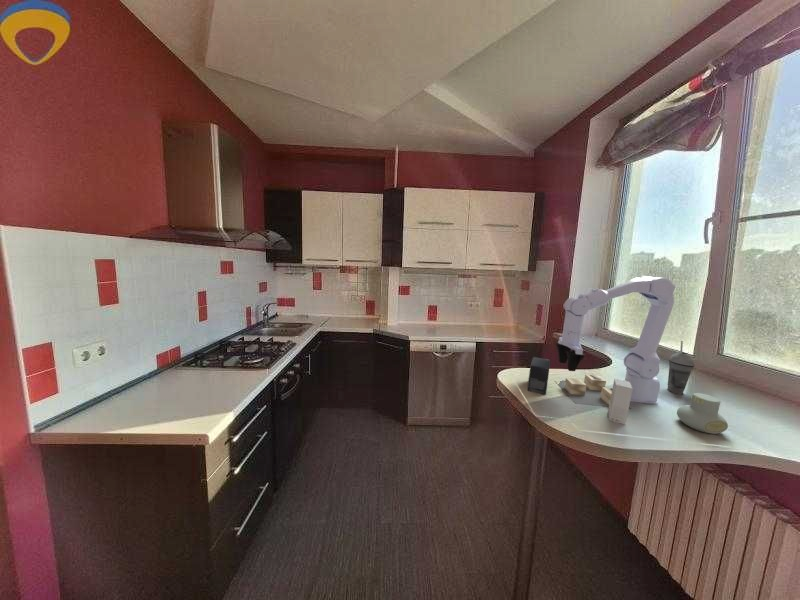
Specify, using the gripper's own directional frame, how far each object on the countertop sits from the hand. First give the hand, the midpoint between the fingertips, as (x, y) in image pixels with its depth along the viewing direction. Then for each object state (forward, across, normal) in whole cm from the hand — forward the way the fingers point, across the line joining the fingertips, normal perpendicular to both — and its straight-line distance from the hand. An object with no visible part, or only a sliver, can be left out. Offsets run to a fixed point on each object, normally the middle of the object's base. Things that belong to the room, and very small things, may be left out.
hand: (566, 366), depth 109 cm
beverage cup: (+10, -10, +46) cm, 48 cm away
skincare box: (+10, +17, +9) cm, 21 cm away
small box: (+10, 0, -9) cm, 14 cm away
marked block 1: (+9, -5, +13) cm, 17 cm away
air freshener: (+10, +17, +33) cm, 38 cm away
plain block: (+9, 0, +4) cm, 10 cm away
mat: (+10, 0, +9) cm, 13 cm away
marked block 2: (+9, +6, +14) cm, 18 cm away
